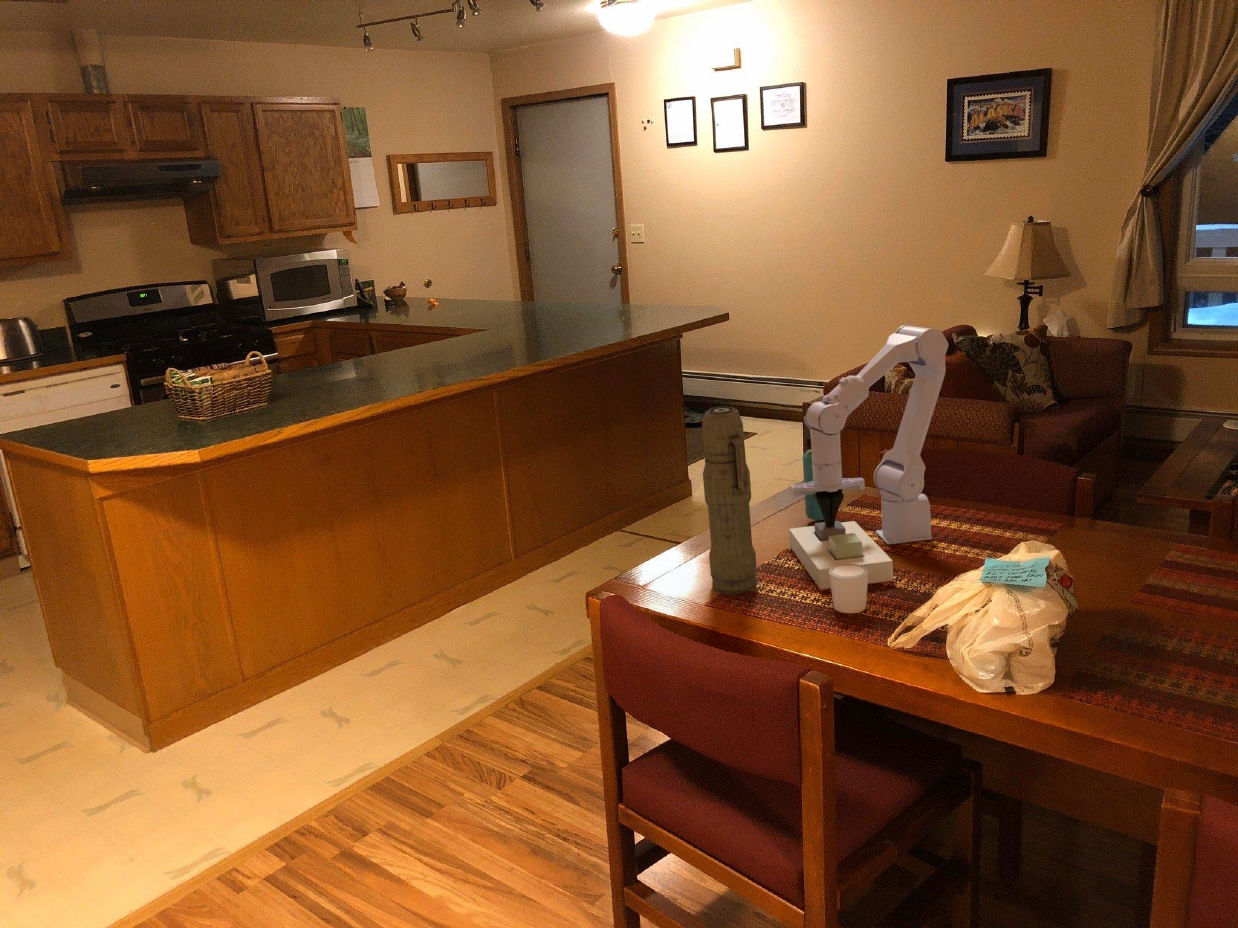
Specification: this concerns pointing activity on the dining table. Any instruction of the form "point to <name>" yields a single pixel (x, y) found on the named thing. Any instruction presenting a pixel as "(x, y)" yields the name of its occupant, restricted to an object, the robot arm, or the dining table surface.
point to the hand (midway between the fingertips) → (829, 526)
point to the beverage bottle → (811, 503)
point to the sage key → (845, 546)
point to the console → (821, 559)
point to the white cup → (849, 587)
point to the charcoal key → (828, 530)
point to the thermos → (728, 502)
